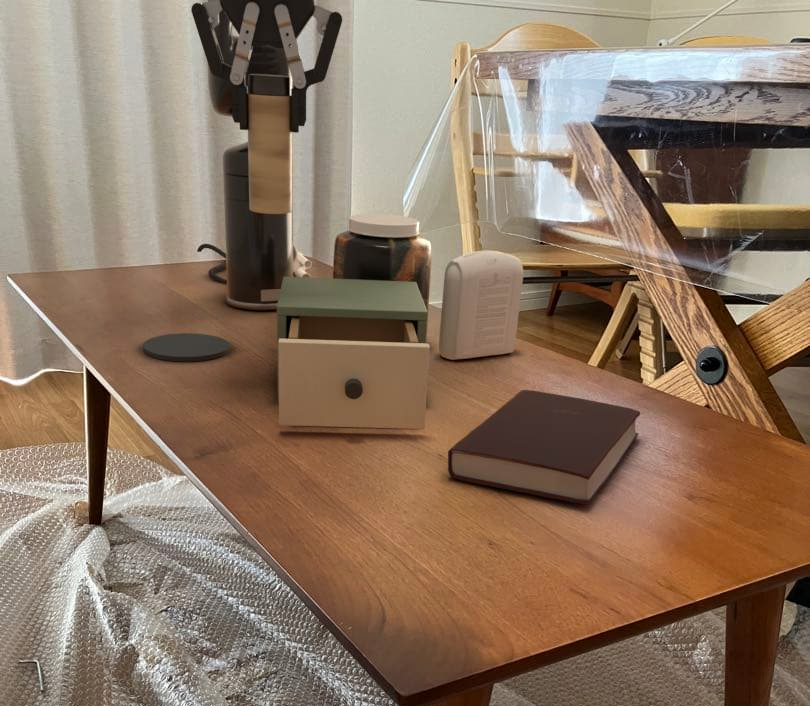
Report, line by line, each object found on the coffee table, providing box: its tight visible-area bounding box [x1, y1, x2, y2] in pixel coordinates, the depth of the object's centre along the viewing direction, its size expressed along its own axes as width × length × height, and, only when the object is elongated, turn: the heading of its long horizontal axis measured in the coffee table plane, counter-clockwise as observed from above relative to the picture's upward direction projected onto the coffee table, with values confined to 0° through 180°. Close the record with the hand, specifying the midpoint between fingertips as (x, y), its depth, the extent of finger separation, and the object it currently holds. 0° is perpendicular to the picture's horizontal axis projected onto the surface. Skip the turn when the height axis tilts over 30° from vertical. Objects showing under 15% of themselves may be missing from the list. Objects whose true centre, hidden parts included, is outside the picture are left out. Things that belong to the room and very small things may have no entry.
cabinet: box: [276, 276, 429, 403], centre depth 98 cm, size 14×15×10 cm
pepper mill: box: [247, 74, 293, 214], centre depth 88 cm, size 4×4×12 cm
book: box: [447, 389, 641, 505], centre depth 83 cm, size 12×19×3 cm, turn 155°
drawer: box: [278, 316, 431, 430], centre depth 89 cm, size 14×14×8 cm
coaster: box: [142, 332, 231, 363], centre depth 108 cm, size 10×10×1 cm
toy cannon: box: [293, 244, 313, 278], centre depth 146 cm, size 8×14×5 cm
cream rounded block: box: [438, 249, 524, 361], centre depth 110 cm, size 10×4×12 cm, turn 123°
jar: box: [332, 213, 432, 340], centre depth 111 cm, size 12×12×15 cm
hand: (269, 129), depth 87 cm, fingers closed on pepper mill, 4 cm apart
